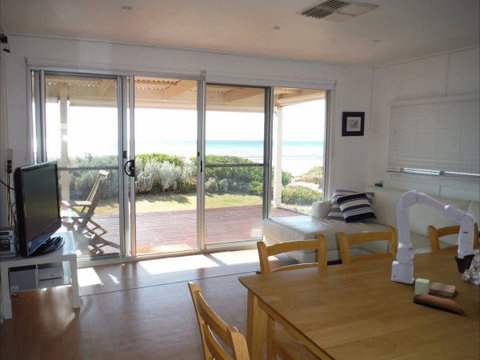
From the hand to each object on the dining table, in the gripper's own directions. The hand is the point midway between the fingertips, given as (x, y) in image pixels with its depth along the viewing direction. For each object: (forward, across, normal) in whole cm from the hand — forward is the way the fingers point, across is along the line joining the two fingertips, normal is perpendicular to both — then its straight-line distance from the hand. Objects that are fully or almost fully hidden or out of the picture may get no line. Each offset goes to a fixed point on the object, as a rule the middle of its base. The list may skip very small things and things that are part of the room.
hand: (464, 271), depth 184 cm
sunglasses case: (+11, -23, +3) cm, 26 cm away
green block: (+10, -14, +13) cm, 22 cm away
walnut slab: (+10, -5, +7) cm, 13 cm away
